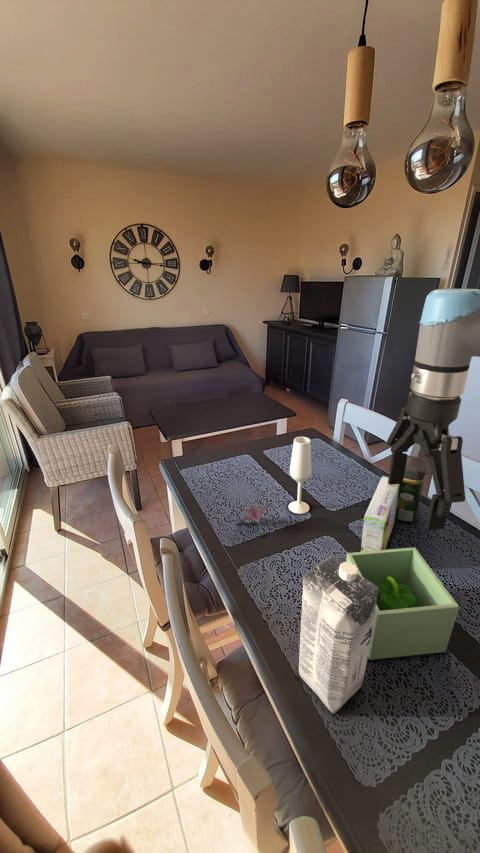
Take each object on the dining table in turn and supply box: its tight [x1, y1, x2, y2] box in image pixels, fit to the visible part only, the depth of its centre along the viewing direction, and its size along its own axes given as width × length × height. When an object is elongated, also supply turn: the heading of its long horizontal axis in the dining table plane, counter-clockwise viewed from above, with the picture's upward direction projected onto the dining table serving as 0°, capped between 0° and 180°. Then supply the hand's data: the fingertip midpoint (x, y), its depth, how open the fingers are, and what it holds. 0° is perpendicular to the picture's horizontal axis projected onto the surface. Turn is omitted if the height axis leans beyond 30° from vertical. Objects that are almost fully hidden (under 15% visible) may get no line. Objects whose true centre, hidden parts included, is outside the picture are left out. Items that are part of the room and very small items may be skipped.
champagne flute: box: [288, 436, 313, 515], centre depth 111 cm, size 7×7×24 cm
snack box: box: [360, 475, 400, 552], centre depth 98 cm, size 21×6×15 cm, turn 149°
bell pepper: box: [376, 576, 418, 611], centre depth 76 cm, size 8×8×10 cm
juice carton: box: [298, 554, 378, 715], centre depth 62 cm, size 9×10×27 cm
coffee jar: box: [395, 454, 427, 523], centre depth 108 cm, size 10×8×19 cm
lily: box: [236, 503, 274, 536], centre depth 106 cm, size 12×12×10 cm
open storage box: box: [345, 546, 460, 661], centre depth 76 cm, size 16×16×13 cm
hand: (412, 503), depth 66 cm, fingers open, 13 cm apart
